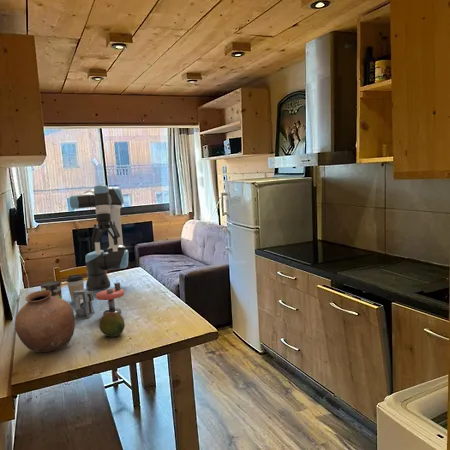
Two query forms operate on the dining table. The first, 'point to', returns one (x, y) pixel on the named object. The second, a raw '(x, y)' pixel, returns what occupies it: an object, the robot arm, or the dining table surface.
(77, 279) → the coffee cup
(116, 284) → the pot lid
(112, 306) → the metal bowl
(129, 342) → the dining table surface
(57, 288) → the coffee can
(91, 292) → the hook rod
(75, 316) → the grey block assembly
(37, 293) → the pottery
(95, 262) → the robot arm
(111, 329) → the fruit
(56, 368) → the dining table surface
